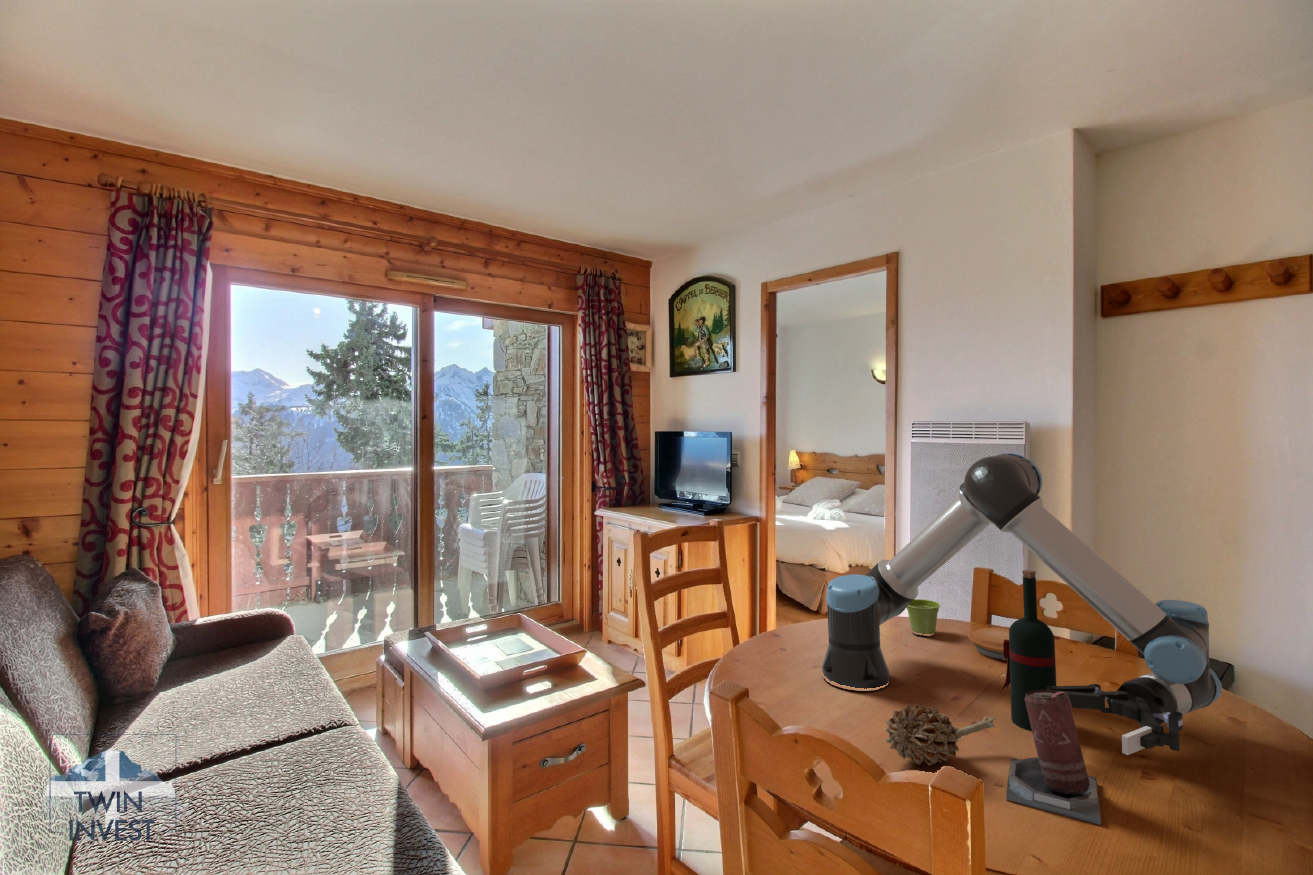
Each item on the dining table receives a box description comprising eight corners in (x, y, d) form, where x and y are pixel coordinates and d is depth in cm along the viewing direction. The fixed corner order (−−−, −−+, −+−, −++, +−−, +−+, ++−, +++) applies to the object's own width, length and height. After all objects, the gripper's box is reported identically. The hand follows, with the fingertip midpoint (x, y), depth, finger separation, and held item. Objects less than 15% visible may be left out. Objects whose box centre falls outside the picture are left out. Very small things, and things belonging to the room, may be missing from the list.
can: (1101, 792, 91) (1076, 694, 94) (1058, 796, 91) (1034, 698, 94) (1078, 778, 97) (1055, 686, 100) (1037, 781, 97) (1016, 690, 100)
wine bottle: (1018, 706, 125) (1013, 562, 125) (1067, 727, 116) (1062, 572, 115) (991, 714, 122) (986, 567, 122) (1040, 736, 113) (1034, 577, 112)
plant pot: (899, 629, 175) (898, 599, 175) (930, 627, 175) (929, 597, 175) (915, 640, 165) (914, 609, 165) (948, 638, 166) (947, 606, 166)
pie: (981, 638, 165) (980, 620, 165) (1046, 652, 154) (1045, 632, 154) (959, 653, 155) (958, 634, 155) (1026, 669, 143) (1025, 649, 143)
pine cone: (911, 785, 99) (909, 726, 99) (873, 756, 108) (871, 701, 108) (1012, 758, 106) (1010, 702, 106) (968, 732, 115) (966, 681, 115)
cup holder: (1006, 800, 94) (1005, 786, 94) (1011, 763, 104) (1010, 750, 104) (1101, 825, 87) (1100, 810, 87) (1096, 783, 97) (1096, 770, 97)
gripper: (1244, 752, 95) (1169, 789, 87) (1080, 693, 118) (1007, 717, 110) (1243, 705, 95) (1167, 737, 87) (1078, 655, 118) (1006, 676, 110)
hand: (1078, 726), depth 98 cm, fingers open, 13 cm apart
